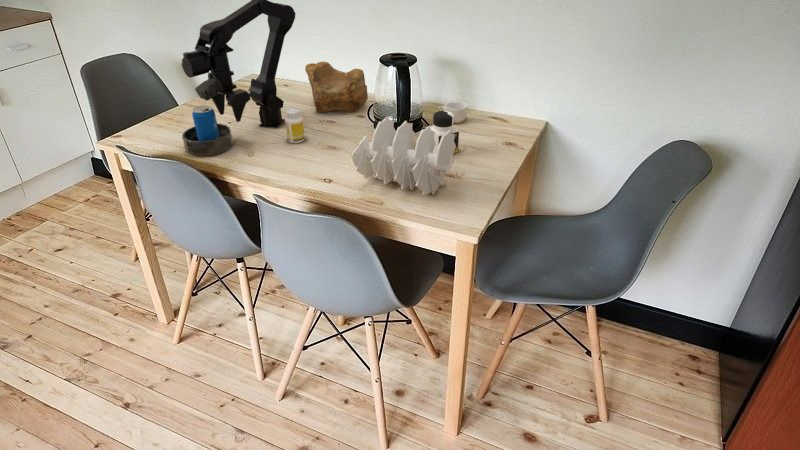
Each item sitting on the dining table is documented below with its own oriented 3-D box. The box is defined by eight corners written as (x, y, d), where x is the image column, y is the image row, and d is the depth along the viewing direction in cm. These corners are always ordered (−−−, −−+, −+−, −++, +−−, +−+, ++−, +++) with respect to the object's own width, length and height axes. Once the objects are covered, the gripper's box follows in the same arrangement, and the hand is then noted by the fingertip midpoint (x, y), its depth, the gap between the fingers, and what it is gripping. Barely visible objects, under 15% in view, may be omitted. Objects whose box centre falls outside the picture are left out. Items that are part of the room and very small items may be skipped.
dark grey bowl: (240, 139, 171) (238, 124, 169) (219, 159, 160) (216, 143, 157) (200, 136, 174) (197, 121, 171) (176, 155, 162) (172, 140, 160)
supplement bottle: (308, 138, 172) (304, 109, 166) (298, 144, 167) (294, 115, 162) (294, 135, 173) (290, 106, 168) (284, 141, 169) (280, 112, 164)
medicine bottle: (438, 157, 159) (439, 119, 152) (426, 148, 164) (426, 111, 157) (458, 152, 161) (460, 114, 155) (446, 143, 167) (447, 106, 160)
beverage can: (215, 150, 163) (206, 113, 157) (196, 148, 165) (186, 112, 158) (225, 141, 169) (217, 105, 162) (206, 140, 170) (198, 104, 163)
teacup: (469, 118, 184) (470, 103, 181) (463, 126, 178) (464, 111, 175) (442, 114, 187) (442, 99, 184) (434, 122, 181) (435, 107, 178)
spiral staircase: (377, 180, 155) (456, 196, 145) (344, 181, 140) (430, 199, 129) (386, 117, 152) (468, 129, 142) (353, 111, 137) (442, 123, 126)
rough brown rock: (293, 114, 191) (286, 74, 181) (315, 95, 203) (310, 56, 193) (351, 125, 184) (348, 84, 174) (371, 104, 196) (369, 65, 186)
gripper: (179, 69, 160) (191, 118, 169) (213, 82, 150) (224, 133, 158) (212, 60, 167) (222, 108, 176) (246, 72, 157) (255, 122, 165)
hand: (230, 117), depth 169 cm, fingers open, 9 cm apart
